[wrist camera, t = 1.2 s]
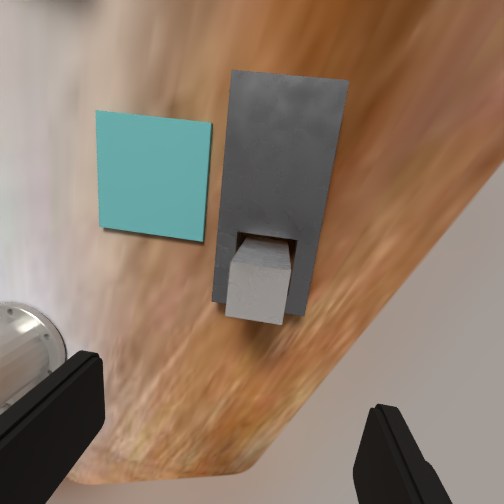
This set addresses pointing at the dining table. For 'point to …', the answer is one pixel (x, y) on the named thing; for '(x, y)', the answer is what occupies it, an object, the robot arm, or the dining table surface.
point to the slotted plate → (277, 169)
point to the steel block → (259, 280)
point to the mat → (153, 174)
